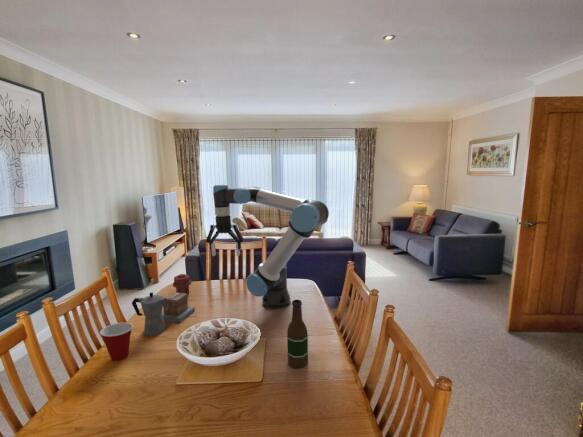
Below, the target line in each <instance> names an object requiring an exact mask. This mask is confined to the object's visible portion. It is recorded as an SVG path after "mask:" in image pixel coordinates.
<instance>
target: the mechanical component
mask: <svg viewBox="0 0 583 437" xmlns="http://www.w3.org/2000/svg"><path fill="white" fill-rule="evenodd" d="M190 285H192V280H191V279H190V275H189V274H186V273H185V274H184V273H180V274H178V275H175V276H174V277H173V282H172V286H173V287H174V288H175V293H186V294H187V296H188V295H190Z"/></svg>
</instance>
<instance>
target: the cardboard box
mask: <svg viewBox="0 0 583 437" xmlns="http://www.w3.org/2000/svg"><path fill="white" fill-rule="evenodd" d="M164 298H167V301H166V302H165V303H164V305H163V307H162V310H163V311H164V314H165V315H174V316H179V315H180V314H182V313H183V312H184V311H185V310H187V309H188V307H189V303H188V295H187V294H186V293H176V291H174V292H171V293H170V294H167V295H166V296H165V297H164Z"/></svg>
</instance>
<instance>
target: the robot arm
mask: <svg viewBox="0 0 583 437" xmlns="http://www.w3.org/2000/svg"><path fill="white" fill-rule="evenodd" d="M212 190H213V191H212V194H213V204H214V215H215V224H213V223H212V224H211V225H209V227H210V228H209V232H208V234H207V237H206V239H205V243H207V244H209V249H210V250H211V256H212V257H214V256H216V243H215V240H216V239H217V238H218V236H219V235H220V234H228V235H229V236H230V237H231V238H232V239H233V240H234V241H235V242H236V243H235V250H236V252H235V253H236V257H239V256H241V251H240V250H241V249H242V243H244V242H245V238H244V237H243V235H242V234H241V232H240V229H239V228H238V224H237V223H235V224H232V219H231V205H230V204H235V205H236V204H239V205H243V204H244V205H245V204H248V203H251V202H252V203H256V204H259V205H264V206H265V207H266V206H267V207H270V208H274V209H277V210H281V211H284V212H288V213H290V218H289V219H290V220H289V221H288V222H287V225H288V228H287V229H286V231H285V233H284V234H283V235H282V237H281V238H280V240H279V241H278V243H277V244H276V245H275V247H274V248H273V250H272V252H271V253H270V254H269V256H268V257H267V258H266V260H265V261H264V262H261V263H260V264H259V265H258V266H257V268H256V269H255V270H254V272H253V273H250V274H249V275H248V276H247V277H246V280H245V284H246V288H247V290H248V292H249V293H250V294H251V295H252V296H254V297H257V298H261V297H262V301H261V302H262V305H263V306H264V307H266V308H270V309H281V308H285V307H287V306H288V305H290V304H291V296H290V293H289V291H288V285H287V284H288V277H287V276H288V274H287V273H288V272H287V271H288V270H287V269H288V268H287V263H288V262H289V261H290V259H291V257H292V256H293V255H294V253H295V252H296V251H297V250H298V248H299V247H300V245H301V244H302V242H303V241H304V240H305V239H309V238H310V237H311V236H312V235H313V233H314V232H315V231H316V229H317V228H318V227H321V226H322V225H324V224H325V223H326V222H327V221H328V219H329V215H330V214H329V212H330V211H329V208H328V206H327V205H326V204H325V203H324V202H322V201H319V200H314V199H309V198H305V199H301V198H296V197H293V196H290V195H286V194H281V193H277V192H273V191H269V190H267V189H266V190H265V189H262V188H261V187H258V186H249V187H239V188H237V187H236V188H235V187H234V188H229V185H228V184H216V185H213V188H212ZM215 229H216V232H215ZM232 229H233V230H234V232H235V233H234V232H233V230H232ZM214 232H215V233H214Z"/></svg>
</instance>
